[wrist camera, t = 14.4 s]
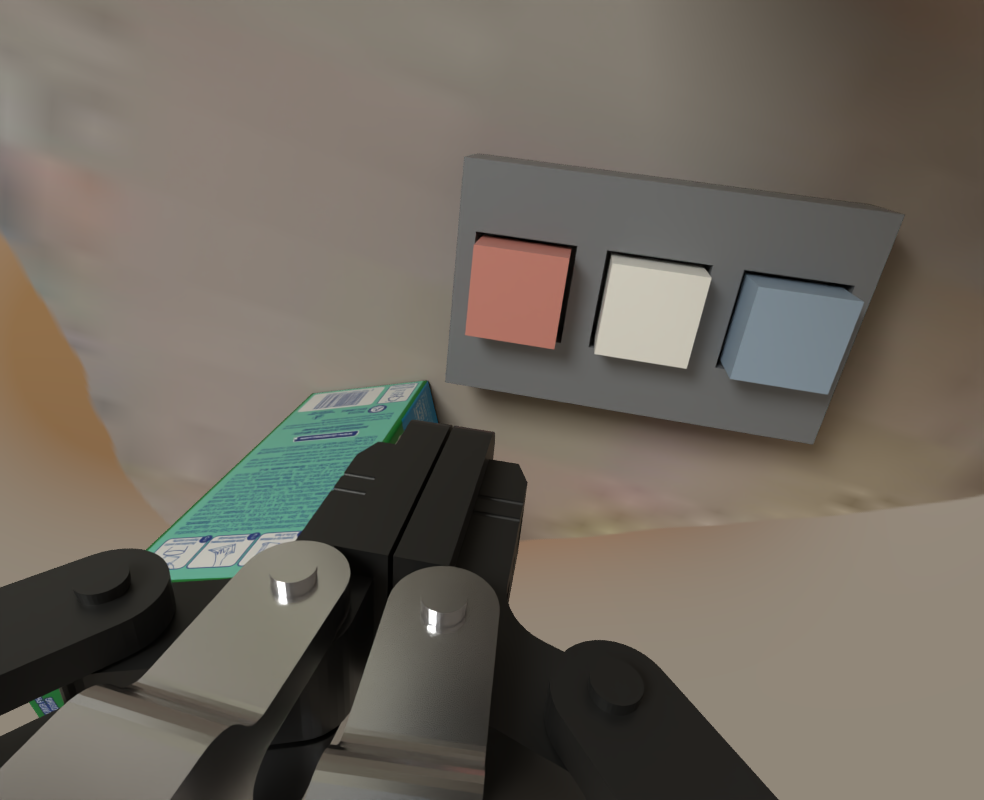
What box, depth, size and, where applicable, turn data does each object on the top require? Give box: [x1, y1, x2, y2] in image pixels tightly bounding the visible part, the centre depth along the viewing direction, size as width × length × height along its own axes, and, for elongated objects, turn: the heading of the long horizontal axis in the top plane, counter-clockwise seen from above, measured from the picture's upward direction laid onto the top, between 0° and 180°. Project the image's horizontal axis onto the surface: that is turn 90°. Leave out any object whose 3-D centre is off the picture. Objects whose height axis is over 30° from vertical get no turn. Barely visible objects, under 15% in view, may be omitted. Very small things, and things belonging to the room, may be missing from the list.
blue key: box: [720, 273, 864, 395], centre depth 31 cm, size 5×5×3 cm
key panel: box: [445, 154, 905, 444], centre depth 35 cm, size 13×22×4 cm, turn 84°
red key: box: [465, 235, 572, 349], centre depth 33 cm, size 5×5×3 cm
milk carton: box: [29, 381, 438, 718], centre depth 33 cm, size 9×9×25 cm
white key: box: [594, 252, 712, 369], centre depth 33 cm, size 5×5×3 cm
